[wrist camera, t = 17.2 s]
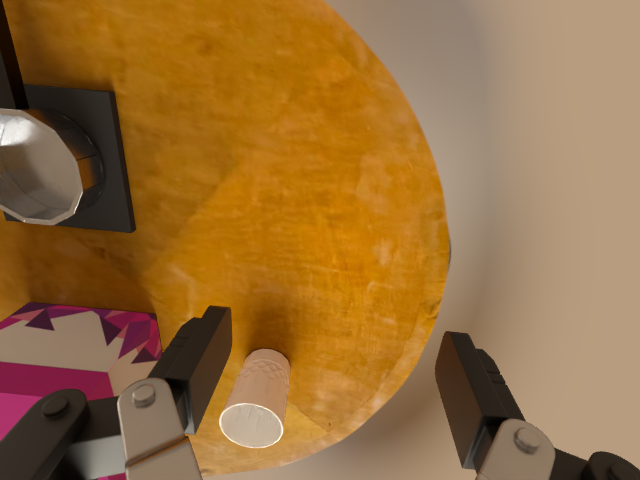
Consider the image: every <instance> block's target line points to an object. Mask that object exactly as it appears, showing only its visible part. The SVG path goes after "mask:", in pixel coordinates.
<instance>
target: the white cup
mask: <svg viewBox="0 0 640 480" xmlns="http://www.w3.org/2000/svg"><path fill="white" fill-rule="evenodd" d="M290 369H291V368H290V365H289V362H288V360H287V359H286V358H285V357H284V356H283V355H282V354H281V353H279V352H277V351H275V350H272V349H259V350H256V351H253V352H252V353H251V354H250V355H249V356H248V357H247V358H246V360H245V363H244V365H243V367H242V370H241V371H240V373H239V375H238V377H237V379H236V381H235V383H234V385H233V388H232V390H231V392H230V395H229V397H228V399H227V401H226V404H225V406H224V408H223V411H222V413H221V415H220V418H219V425H220V428H221V430H222V432H223V433H224V435H225V436H226V437H227V438H229V439H230V440H231V441H233V442H235V443H236V444H239V445H241V446H245V447H249V448H264V447H268V446H271V445H273V444H275V443H276V442H277V441H278V440H279V439H280V438H281V436H282V434H283V428H284V421H285V413H286V406H287V399H288V390H289V376H290Z"/></svg>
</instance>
